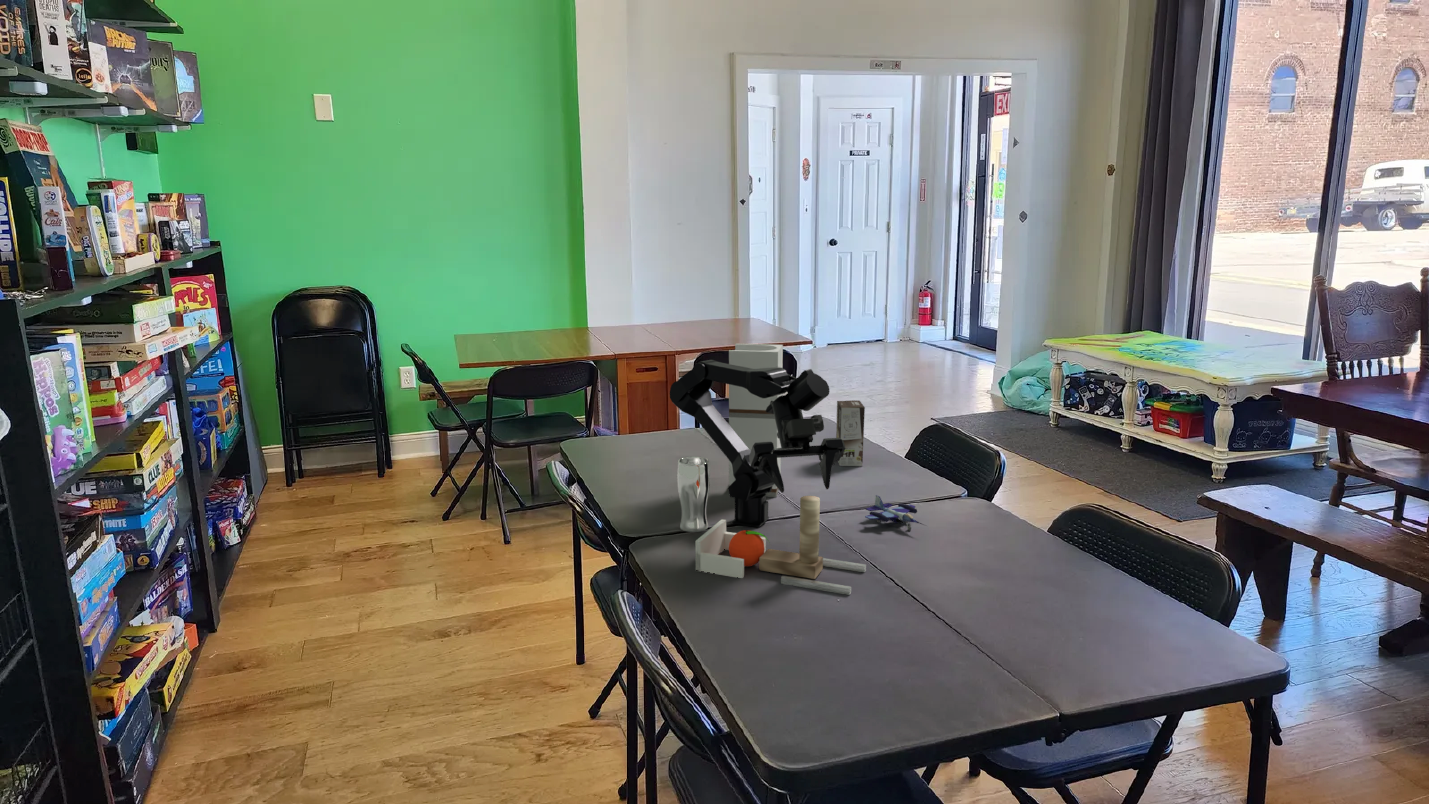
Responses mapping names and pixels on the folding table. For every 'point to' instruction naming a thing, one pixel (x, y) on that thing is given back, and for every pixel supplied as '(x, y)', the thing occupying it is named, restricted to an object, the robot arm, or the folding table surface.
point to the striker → (808, 556)
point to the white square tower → (754, 401)
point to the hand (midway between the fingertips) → (805, 490)
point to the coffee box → (851, 431)
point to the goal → (712, 546)
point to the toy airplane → (892, 512)
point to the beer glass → (693, 492)
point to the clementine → (747, 546)
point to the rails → (824, 585)
